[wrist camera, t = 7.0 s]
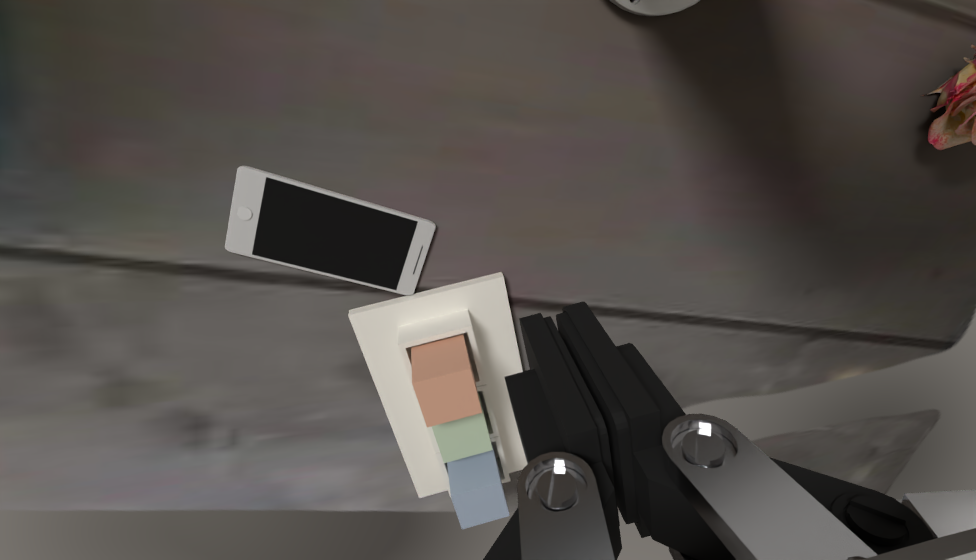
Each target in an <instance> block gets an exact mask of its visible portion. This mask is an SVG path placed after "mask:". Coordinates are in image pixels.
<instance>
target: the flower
mask: <svg viewBox="0 0 976 560" xmlns="http://www.w3.org/2000/svg"><path fill="white" fill-rule="evenodd" d="M971 48H975V51H976V47H975V46H974V45H972V44H971ZM964 60H965V62H971V63H969V64H968V65H967V66H966V67H964V68H963V69H962V70H961V71H959V72H958V73H957V74H956V75H954V76H951V77H950V78H949V79H948V80H947V81H946V82H945V83H943V84H942V85H941V86H940V87H938V88H937V89H936V90H934V91H932V92H930V93H929V94H932V93H941V95H940V97H939V98H938V102H937V106H936V107H934V108H932V109H930V110H931V111H932V112H935V111H937V110H938V109H939V108H941V107H943V106H945V105H946V114H943V115H942V116H941V117H939V118H937V119H935V120H934V121H933V122H932V123H931V126H930V128H929V133H928V141H929V143H930V144H933V146H934V147H935V148H936V149H938V150H943V149H946V148H950V147H953V146H956V145H959V144H962V143H966V142H970V141H972V143H973V144H974V145H976V53H975V54H974V58H973V60H971V59H968V58H964ZM926 95H927V94H926ZM920 96H924V95H920ZM955 135H956V136H955ZM952 139H953V140H952Z"/></svg>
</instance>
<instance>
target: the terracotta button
mask: <svg viewBox="0 0 976 560" xmlns="http://www.w3.org/2000/svg"><path fill="white" fill-rule="evenodd" d="M411 361H412V385H413V388H414V391H415V394H416V397H417V399H418V402H419V405H420V408H421V411H422V414H423V417H424V420H425V423H426V426H427V427H431V426H435V425H439V424H442V423H446V422H450V421H453V420H457V419H461V418H465V417H468V416H472V415H476V414H480V413H482V409H481V405H480V400H479V396H478V391H477V387H476V382H475V378H474V374H473V370H472V366H471V362H470V358H469V355H468V351H467V347H466V343H465V339H464V335H463V334H462V335H458V336H454V337H450V338H446V339H442V340H438V341H434V342H430V343H427V344H423V345H419V346H415V347H411Z"/></svg>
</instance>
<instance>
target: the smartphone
mask: <svg viewBox="0 0 976 560" xmlns="http://www.w3.org/2000/svg"><path fill="white" fill-rule="evenodd" d="M435 228H436V226H435V223H434V222H432V221H430V220H427V219H424V218H420V217H417V216H413V215H410V214H407V213H403V212H400V211H397V210H393V209H390V208H387V207H383V206H380V205H377V204H373V203H370V202H366V201H363V200H360V199H356V198H353V197H350V196H346V195H343V194H340V193H336V192H333V191H329V190H326V189H323V188H319V187H316V186H313V185H309V184H306V183H303V182H299V181H296V180H293V179H289V178H286V177H282V176H279V175H276V174H272V173H269V172H266V171H262V170H259V169H256V168H252V167H248V166H240V167H239V168H238V169H237V175H236V181H235V187H234V193H233V200H232V206H231V212H230V218H229V224H228V231H227V237H226V243H225V249H226V250H228V251H230V252H233V253H236V254H240V255H244V256H248V257H253V258H257V259H261V260H265V261H269V262H273V263H277V264H281V265H285V266H289V267H293V268H297V269H301V270H305V271H310V272H314V273H318V274H322V275H326V276H330V277H334V278H338V279H342V280H346V281H350V282H354V283H358V284H362V285H367V286H371V287H375V288H379V289H383V290H387V291H391V292H395V293H399V294H403V295H413V294H414V291H415V288H416V285H417V282H418V279H419V276H420V273H421V270H422V267H423V264H424V261H425V258H426V255H427V252H428V249H429V246H430V243H431V240H432V237H433V234H434V231H435Z"/></svg>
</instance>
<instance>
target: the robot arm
mask: <svg viewBox="0 0 976 560" xmlns="http://www.w3.org/2000/svg"><path fill="white" fill-rule="evenodd" d="M609 1H611V2H612V3H614V4H615V5H616V6H618V7H619V8H621V9H623V10H625V11H628V12H631V13H633V14H636V15H644V16H660V15H667V14H671V13H675V12H679V11H682V10H684V9H686V8H688V7H690V6H693V5H695V4H696V3H697V2H699V1H700V0H633V1H632V2H630V0H609ZM562 311H563V313H561V314H557V315H556V320H557V326H558V330H557V328H556V326H555V324H554V322H553V320H552V318H551V317H550V316H549V317H546V318H543V316H542V314H541V313H538V314H535V315H531V316H527V317H523V318H520V325H521V330H522V335H523V339H524V344H525V348H526V353H527V357H528V362H529V367H530V370H528V371H524V372H520V373H517V374H513V375H509V376H506V377H505V382H506V386H507V390H508V394H509V398H510V401H511V405H512V409H513V413H514V417H515V420H516V424H517V428H518V431H519V435H520V439H521V442H522V446H523V449H524V453H525V457H526V460H527V465H526V466H525V467H524V468H523V470H522V472H521V474H520V476H519V478H518V487H517V493H518V508H517V510H516V511H515V513H514V515H513V516H512V517H511V519H510V521H509V522H508V523H507V525H506V526H505V528H504V529H503V531H502V532H501V534H500V535H499V537H498V538H497V540H496V541H495V543H494V544H493V546H492V547H491V549H490V550H489V552H488V553H487V555H486V556H485V558H484V559H483V560H617V558H618V556H619V553H620V551H621V549H622V544H621V537H620V529H619V526H620V525H619V516H618V509H617V506H618V508H619V510H620V513H621V515H622V517H623V519H624V521H625V522H626V524H630V523H635V525H636V527H637V529H638V531H639V533H640V535H641V538H644V537H647V536H651V537H652V539H653V540H655V541H657V542H659V543H662V544H664V545H666V546H668V547H669V552H670V554H671V555H672V557H673V559H674V560H976V490H964V491H963V490H962V491H944V492H924V493H905V494H904V496H903V499H902V500H896V499H894V498H892V497H889V496H887V495H885V494H882V493H880V492H877V491H875V490H872V489H868V488H865V487H862V486H859V485H856V484H852V483H849V482H846V481H843V480H840V479H837V478H833V477H830V476H827V475H824V474H821V473H817V472H814V471H811V470H808V469H805V468H801V467H798V466H795V465H792V464H789V463H786V462H782V461H779V460H776V459H773V458H770V457H768V456H767V455H766V454H765V453H763V452H762V451H761V450H760V449H759V448H758V447H757V446H756V445H755V444H753V443H752V442H751V441H750V440H749V439H748V438H747V437H746V436H745V435H743V434H742V433H741V432H740V431H739V430H738V429H737V428H735V427H734V426H733V425H731V424H730V423H728V422H727V421H725V420H722V419H720V418H717V417H715V416H710V415H705V414H688V415H686V414H685V413H684V412H683V410H682V409H681V407H680V406H679V405H678V403H677V402H676V401H675V399H674V398H673V397H672V395H671V394H670V393H669V391H668V390H667V389H666V387H665V386H664V385H663V383H662V382H661V381H660V379H659V378H658V377H657V375H656V374H655V373H654V371H653V370H652V369H651V367H650V366H649V365H648V363H647V362H646V361H645V359H644V358H643V357H642V355H641V354H640V353H639V351H638V350H637V349H636V347H635V346H634V345H633V344H631V343H628V344H624V345H621V346H617V347H616V346H615V345H614V343H613V342H612V340H611V339H610V337H609V336H608V335H607V333H606V332H605V330H604V329H603V327H602V326H601V324H600V323H599V321H598V320H597V319H596V317H595V316H594V314H593V313H592V311H591V310H590V308H589V307H588V305H587V304H586V303H585V302H580V303H576V304H572V305H569V306H565V307H563V309H562Z"/></svg>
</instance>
